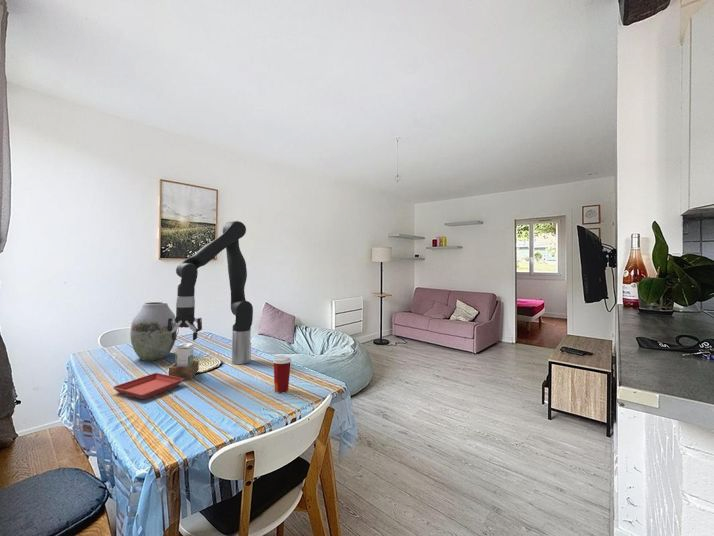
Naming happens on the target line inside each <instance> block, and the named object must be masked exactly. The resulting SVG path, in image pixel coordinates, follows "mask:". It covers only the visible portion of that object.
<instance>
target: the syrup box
mask: <svg viewBox="0 0 714 536" xmlns="http://www.w3.org/2000/svg"><path fill="white" fill-rule="evenodd" d="M194 346H195V344H194V343H188V342H186V343H185V342H184V343H181V344H179V345H177V346H175V354H174V356H175V359H174V363H175V367H186V366H191V365H192V364H193V360H194V349H195V348H194Z"/></svg>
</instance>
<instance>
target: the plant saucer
mask: <svg viewBox="0 0 714 536" xmlns="http://www.w3.org/2000/svg"><path fill="white" fill-rule="evenodd" d="M182 381H184V379H183V378H179V377H174V376H169V374H163V373H158V372H154V373H151V374H147V375H144V376H141V377H138V378H135V379H133V380H130V381H126V382H124V383H123V382H122V383H120V384H118V385H114V386H112V388H113V389H114V390H115V391H116V392H117V393H119V394H122V395H126V396H128V395H129V397H131V398H132V397H133V398H136V399H139V400H146V399H149V398H151V397H154V396H157V395H159V394H161V393H164V392H166V391H169V390H171V389H174V388H176V387H178V386H179V384H181V382H182Z"/></svg>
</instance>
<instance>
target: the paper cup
mask: <svg viewBox="0 0 714 536" xmlns="http://www.w3.org/2000/svg"><path fill="white" fill-rule="evenodd" d="M272 363H273V381H274V382H273V384H274V385H273V386H274V387H273V388H274V392H275V393H276V392H279V393H278V394H283V393H282V392H285V393H287V392H288V391H289V385H290V375H291V374H290V373H291V363H292V359H291V356H290V355H285V354H284V355H277V356H275V357H274V358H273V360H272ZM286 391H287V392H286Z"/></svg>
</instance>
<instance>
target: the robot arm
mask: <svg viewBox="0 0 714 536" xmlns="http://www.w3.org/2000/svg"><path fill="white" fill-rule="evenodd" d="M246 232H247V227H246V225H245V223H243V222H241V221H239V220H235V221H234V220H233V221H227V222H226V223H225V224H224V225H223V226H222V234H221V235H220V236H218V237H217V238H215V239H213V240H212V241H210V242H209V243H207V244H205V245H204V246H202V247H201V248H200V249H199V250H197V251H196V252H195V253H194V254H193V255H192V256H190V257H188V258H186V259H185V260H183V261H181V262H180V263H179V264H178V265H177V266H176V269H175V273H176V275H177V276H178V277H179V278H180V283H179V284H178V285H177V295H176V302H175V303H176V304H175V307H176V309H175V317H176V318H169V319H168V327H167V331H170V332H172V339H173V341H175V342H176V341H177V337H178V336H177V335H178V333H177V332H178V330H179V328H184V329H185V328H187V329H188V328H189V329H190V330H192V341H196V340H198V332H200V331H202V330H203V321H202V320H203V319H202V317H198V318H196V317H195V309H196V308H195V307H196V306H195V305H196V304H195V303H196V302H195V301H196V300H195V299H196V298H195V289H196V288H195V287H196V284H197V278H198V274H199V273H198V269H199V268H201V267H204V266H206V265H207V264H209V263H210V262H211V261H212V260H213V259H214V258H215V257H216V256H217V255H219V254H220V253H221V252H222V251H223V250H225V249H226V250H225V251H226V260H227V261H226V262H227V272H228V280H229V289H230V310H231V311H230V312H231V313H232V315H234V316H235V320H234V324H233V325H232V332H231V333H232V336H231V338H232V342H231V363H232V364H233V365H234V364H235V365H243V364H249V363H250V361H251V360H252V342H251V337H252V336H251V333H252V332H251V331H252V325H253V319H254V307H253V305H252V303H251V302H250V301H248V300H246V295H245V287H246V282H247V278H248V270H247V262H246V260H245V257H244V256H243V253H242V251H241V248H240V239H242V238H243V237H244V236H245V235H246V234H247V233H246ZM174 321H175V322H176V324H177V325H176V326H175V327H174V328H172V326H173V322H174ZM194 323H196V324H197V326H196V325H195V324H194ZM176 330H177V332H176Z"/></svg>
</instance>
